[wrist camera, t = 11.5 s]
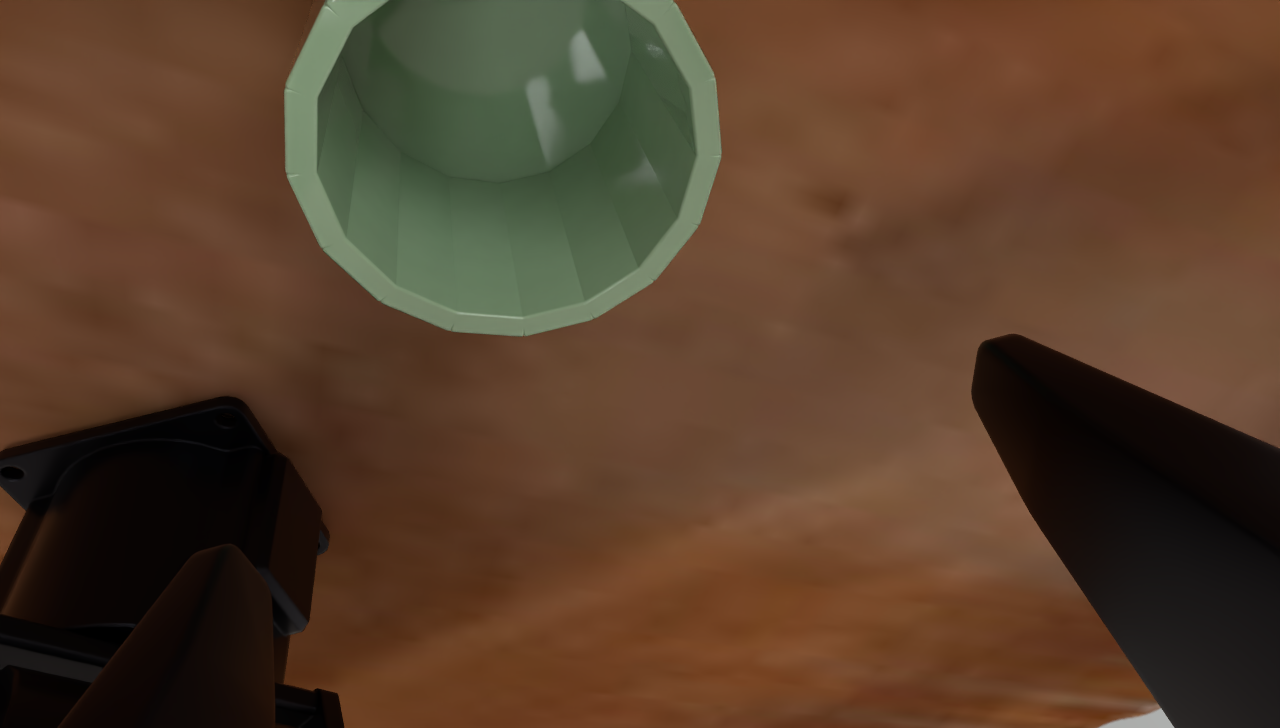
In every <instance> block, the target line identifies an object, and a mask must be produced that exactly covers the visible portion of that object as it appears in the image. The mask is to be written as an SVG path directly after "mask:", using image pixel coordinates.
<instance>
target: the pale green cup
mask: <svg viewBox="0 0 1280 728" xmlns="http://www.w3.org/2000/svg"><path fill="white" fill-rule="evenodd" d="M284 138H285V171H286V174H287V179H288V181H289V183H290V185H291V187H292V189H293V192H294V194H295V196H296V198H297V200H298V202H299V204H300V206H301V208H302V210H303V213H304V215H305V217H306V219H307V221H308V223H309V225H310V227H311V229H312V231H313V233H314V236H315V238H316V240H317V242H318V244H319V246H320V247H321V248H322V249H323V251H324V252H325V253H326V254H327V255H328V256H329V257H330V258H331V259H333V260H334V261H335V262H336V263H337V264H338V265H339V266H340V267H341V268H342V269H344V270H345V271H346V272H347V273H348V274H349V275H350V276H351V277H352V278H353V279H354V280H356V281H357V282H358V283H359V284H360V285H361V286H362V287H363V288H364V289H365V290H367V291H368V292H369V293H370V294H371V295H372V296H373V297H374V298H375V299H376V300H377V301H381V303H382V304H384V305H387V306H389V307H392V308H394V309H396V310H399V311H401V312H404V313H406V314H408V315H411V316H413V317H416V318H418V319H421V320H423V321H425V322H428V323H430V324H433V325H435V326H437V327H440V328H442V329H445V330H447V331H450V330H451V331H452V332H461V333H475V334H489V335H503V336H517V337H522V336H523V335H524V336H530V335H534V334H538V333H542V332H546V331H550V330H554V329H558V328H562V327H566V326H570V325H575V324H579V323H583V322H587V321H591V320H593V318H594V319H595V318H597V317H599V316H601V315H602V314H604V313H605V312H607V311H609V310H610V309H612V308H613V307H615V306H617V305H618V304H620V303H621V302H623V301H625V300H626V299H628V298H629V297H631V296H633V295H634V294H636V293H637V292H639V291H641V290H642V289H644V288H645V287H647V286H649V285H650V284H652V283H653V281H655V280H656V279H657V278H658V277H659V276H660V274H661V273H662V272H663V271H664V269H665V268H666V267H667V266H668V264H669V263H670V262H671V261H672V259H673V258H674V257H675V256H676V254H677V253H678V252H679V251H680V249H681V248H682V247H683V246H684V244H685V243H686V242H687V241H688V239H689V238H690V237H691V236H692V234H693V233H694V232H695V231H696V229H697V228H698V225H699V224H700V222H701V219H702V216H703V213H704V210H705V207H706V204H707V201H708V197H709V194H710V191H711V188H712V185H713V182H714V179H715V176H716V173H717V169H718V166H719V163H720V160H721V153H722V146H721V134H720V122H719V109H718V97H717V85H716V78H715V77H714V72H713V70H712V68H711V66H710V64H709V62H708V61H707V59H706V57H705V55H704V53H703V51H702V49H701V48H700V46H699V44H698V42H697V40H696V38H695V36H694V35H693V33H692V31H691V29H690V27H689V25H688V24H687V22H686V20H685V18H684V16H683V14H682V12H681V11H680V9H679V7H678V5H677V3H676V2H675V1H674V0H313V3H312V6H311V9H310V12H309V15H308V18H307V21H306V24H305V27H304V30H303V33H302V36H301V39H300V42H299V44H298V47H297V50H296V53H295V56H294V59H293V62H292V65H291V68H290V71H289V74H288V77H287V80H286V83H285V88H284Z"/></svg>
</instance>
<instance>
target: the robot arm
mask: <svg viewBox="0 0 1280 728" xmlns="http://www.w3.org/2000/svg"><path fill="white" fill-rule="evenodd" d="M971 393H972V400H973V404H974V407H975V409H976V411H977V413H978V415H979V417H980V419H981V421H982V423H983V425H984V427H985V429H986V430H987V432H988V434H989V436H990V438H991V440H992V442H993V444H994V446H995V448H996V450H997V452H998V454H999V455H1000V457H1001V459H1002V461H1003V463H1004V465H1005V467H1006V469H1007V471H1008V473H1009V475H1010V477H1011V479H1012V480H1013V482H1014V484H1015V486H1016V488H1017V490H1018V492H1019V494H1020V496H1021V498H1022V499H1023V501H1024V503H1025V505H1026V507H1027V508H1028V510H1029V512H1030V514H1031V515H1032V517H1033V518H1034V520H1035V521H1036V523H1037V524H1038V526H1039V528H1040V529H1041V531H1042V532H1043V534H1044V535H1045V537H1046V538H1047V540H1048V541H1049V543H1050V544H1051V545H1052V547H1053V548H1054V550H1055V551H1056V553H1057V554H1058V556H1059V557H1060V559H1061V560H1062V562H1063V563H1064V565H1065V566H1066V568H1067V569H1068V571H1069V572H1070V574H1071V575H1072V577H1073V578H1074V580H1075V581H1076V583H1077V584H1078V585H1079V587H1080V588H1081V590H1082V591H1083V593H1084V594H1085V596H1086V597H1087V599H1088V600H1089V602H1090V603H1091V605H1092V606H1093V608H1094V609H1095V611H1096V612H1097V614H1098V615H1099V617H1100V618H1101V620H1102V621H1103V623H1104V624H1105V625H1106V627H1107V628H1108V630H1109V631H1110V633H1111V634H1112V636H1113V637H1114V639H1115V640H1116V642H1117V643H1118V645H1119V646H1120V648H1121V649H1122V651H1123V652H1124V654H1125V655H1126V657H1127V658H1128V660H1129V661H1130V663H1131V664H1132V665H1133V667H1134V668H1135V670H1136V671H1137V673H1138V674H1139V676H1140V677H1141V679H1142V680H1143V682H1144V683H1145V685H1146V686H1147V688H1148V689H1149V691H1150V692H1151V694H1152V695H1153V697H1154V698H1155V700H1156V701H1157V703H1158V704H1159V705H1160V707H1161V708H1162V710H1163V711H1164V713H1165V714H1166V716H1167V717H1168V719H1169V720H1170V722H1171V723H1172V725H1173V726H1174V727H1175V728H1280V449H1279V448H1277V447H1275V446H1272V445H1270V444H1268V443H1265V442H1263V441H1261V440H1259V439H1256V438H1254V437H1252V436H1249V435H1247V434H1245V433H1243V432H1240V431H1238V430H1236V429H1234V428H1231V427H1229V426H1227V425H1224V424H1222V423H1220V422H1218V421H1215V420H1213V419H1211V418H1208V417H1206V416H1204V415H1202V414H1199V413H1197V412H1195V411H1192V410H1190V409H1188V408H1186V407H1183V406H1181V405H1179V404H1176V403H1174V402H1172V401H1170V400H1167V399H1165V398H1163V397H1160V396H1158V395H1156V394H1154V393H1151V392H1149V391H1147V390H1144V389H1142V388H1140V387H1138V386H1135V385H1133V384H1131V383H1129V382H1126V381H1124V380H1122V379H1119V378H1117V377H1115V376H1113V375H1110V374H1108V373H1106V372H1103V371H1101V370H1099V369H1097V368H1094V367H1092V366H1090V365H1087V364H1085V363H1083V362H1081V361H1078V360H1076V359H1074V358H1071V357H1069V356H1067V355H1065V354H1062V353H1060V352H1058V351H1055V350H1053V349H1051V348H1049V347H1046V346H1044V345H1042V344H1039V343H1037V342H1035V341H1033V340H1030V339H1028V338H1026V337H1024V336H1021V335H1018V334H1008V335H1004V336H1000V337H997V338H993V339H989V340H986V341H984V342H982V343H981V345H980V346H979V348H978V351H977V357H976V363H975V370H974V376H973V382H972V390H971ZM225 413H227V414H231V415H233V416H234V417H231V418H227V417H224V416H222V415H221V414H225ZM11 466H13V467H17V468H19V469H16V468H12V467H11ZM0 486H1V487H2V488H3V489H4V490H5V491H6V492H7V493H8V494H9V495H10V496H11V497H12V498H13V499H14V500H15V501H16V502H17V503H18V504H19V505H20V506H22V507H23V508H24V509H25V510H26V513H25V515H24V517H23V519H22V521H21V523H20V525H19V527H18V529H17V531H16V533H15V536H14V538H13V540H12V542H11V544H10V546H9V548H8V550H7V552H6V554H5V556H4V558H3V561H2V563H1V565H0V728H344V723H343V718H342V712H341V707H340V701H339V696H338V694H337V693H334V692H330V691H326V690H322V689H318V688H317V689H315V690H314V691H311V690H307V689H303V688H299V687H295V686H290V685H286V684H284V678H285V671H286V664H287V656H288V649H289V641H290V635H292V634H295V633H299V632H302V631H304V629H305V627H306V626H307V624H308V622H309V620H310V611H311V602H312V594H313V585H314V577H315V568H316V559H317V555H320V554H322V553H324V552H325V551H326V550H327V549H328V546H329V538H330V534H329V531H328V530H327V528H326V527H325V525H324V523H323V522H322V520H321V516H322V511H321V508H320V507H319V505H318V504H317V502H316V501H315V499H314V497H313V496H312V494H311V493H310V491H309V490H308V488H307V487H306V485H305V483H304V482H303V480H302V479H301V477H300V476H299V474H298V472H297V471H296V469H295V468H294V466H293V465H292V463H291V461H290V460H289V458H287V457H286V456H284V455H283V454H281V453H278V452H277V451H276V449H275V448H274V446H273V444H272V443H271V441H270V440H269V438H268V437H267V435H266V434H265V432H264V431H263V429H262V427H261V426H260V424H259V423H258V421H257V420H256V418H255V417H254V415H253V414H252V412H251V410H250V409H249V407H248V406H247V405H246V404H245V403H244V402H243V401H242V400H239V399H237V398H234V397H229V396H226V397H218V398H214V399H210V400H206V401H202V402H198V403H193V404H189V405H185V406H181V407H177V408H173V409H169V410H165V411H161V412H157V413H153V414H148V415H144V416H140V417H136V418H132V419H128V420H124V421H120V422H116V423H112V424H107V425H103V426H99V427H95V428H91V429H87V430H83V431H79V432H75V433H71V434H67V435H62V436H58V437H54V438H50V439H46V440H42V441H38V442H34V443H30V444H26V445H22V446H17V447H13V448H9V449H5V450H3V451H1V452H0Z"/></svg>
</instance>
